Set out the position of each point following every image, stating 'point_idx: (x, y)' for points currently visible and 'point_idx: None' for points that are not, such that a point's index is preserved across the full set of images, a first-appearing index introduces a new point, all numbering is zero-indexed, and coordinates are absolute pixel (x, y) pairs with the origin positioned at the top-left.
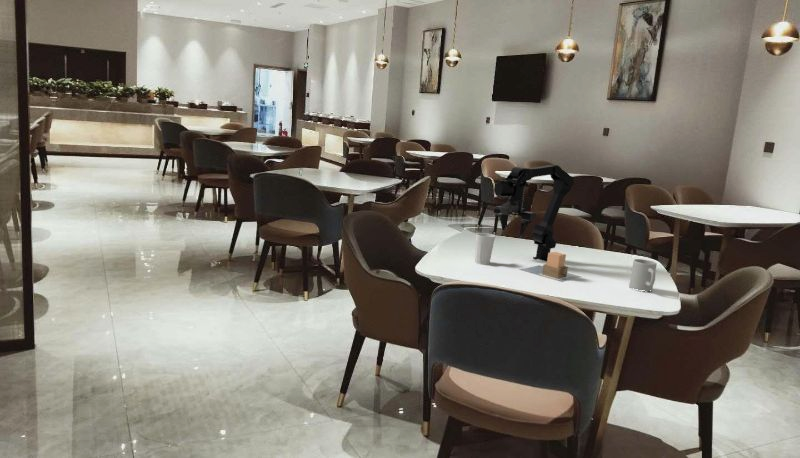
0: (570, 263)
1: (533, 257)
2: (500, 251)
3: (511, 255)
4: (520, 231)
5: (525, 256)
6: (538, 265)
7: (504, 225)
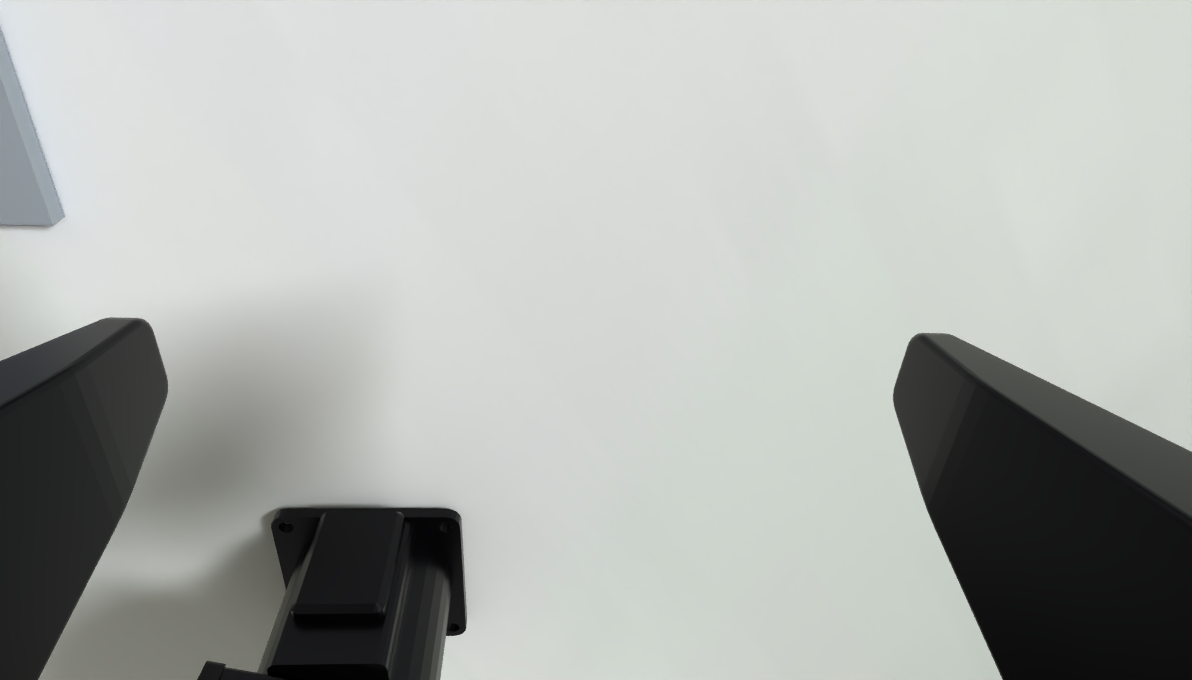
0: (131, 672)
1: (445, 517)
2: (906, 454)
3: (706, 409)
4: (62, 366)
5: (574, 516)
6: (41, 195)
7: (987, 504)
